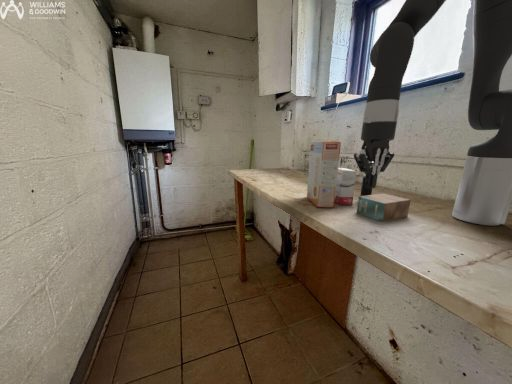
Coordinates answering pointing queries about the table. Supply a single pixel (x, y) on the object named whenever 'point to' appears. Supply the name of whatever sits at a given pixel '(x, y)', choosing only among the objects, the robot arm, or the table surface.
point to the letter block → (383, 206)
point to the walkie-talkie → (365, 189)
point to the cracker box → (323, 173)
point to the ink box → (345, 186)
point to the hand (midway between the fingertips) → (369, 187)
